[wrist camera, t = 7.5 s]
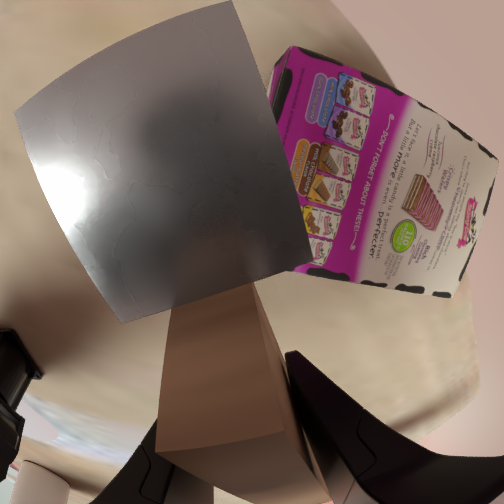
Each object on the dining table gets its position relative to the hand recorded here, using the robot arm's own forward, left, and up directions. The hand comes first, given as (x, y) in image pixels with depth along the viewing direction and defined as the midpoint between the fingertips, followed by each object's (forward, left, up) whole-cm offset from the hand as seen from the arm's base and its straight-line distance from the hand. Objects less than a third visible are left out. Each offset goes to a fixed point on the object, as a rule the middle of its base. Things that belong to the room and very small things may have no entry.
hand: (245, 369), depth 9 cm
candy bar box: (+6, -2, -9) cm, 11 cm away
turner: (+1, 0, -1) cm, 2 cm away
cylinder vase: (-44, +53, -11) cm, 70 cm away
